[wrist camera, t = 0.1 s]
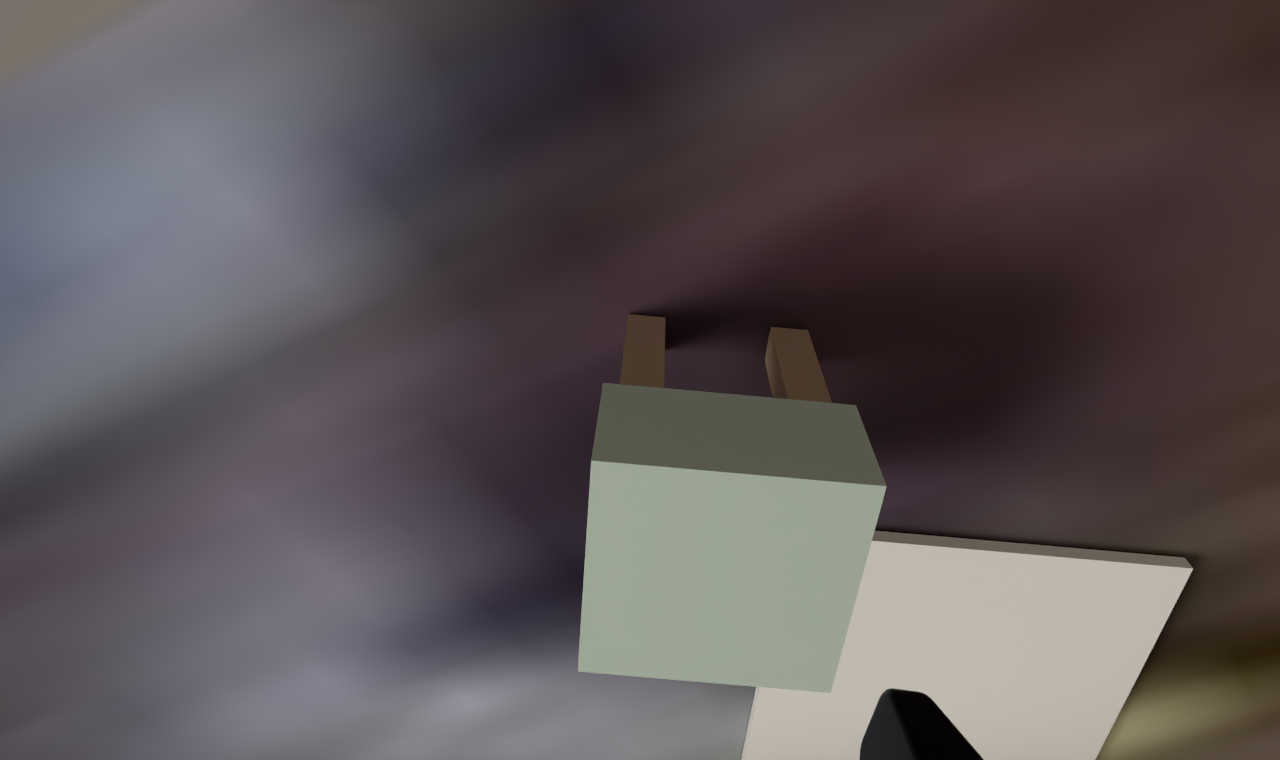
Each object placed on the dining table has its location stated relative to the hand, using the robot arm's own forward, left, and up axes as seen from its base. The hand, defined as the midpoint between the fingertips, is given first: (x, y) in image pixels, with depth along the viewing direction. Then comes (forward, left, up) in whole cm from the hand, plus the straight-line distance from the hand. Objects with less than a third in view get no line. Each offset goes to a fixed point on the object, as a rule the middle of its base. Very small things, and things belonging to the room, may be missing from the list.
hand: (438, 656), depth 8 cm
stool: (-5, -4, -14) cm, 16 cm away
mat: (-15, -13, -14) cm, 24 cm away
